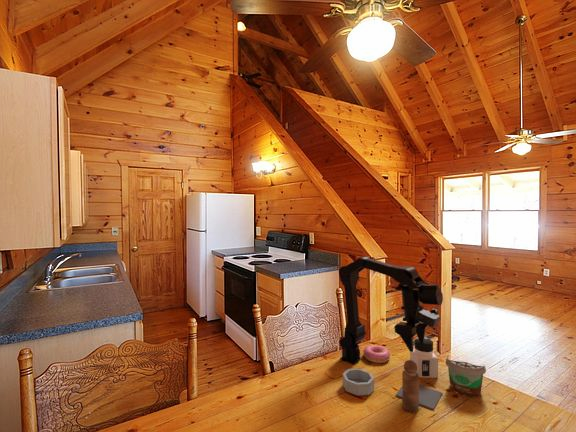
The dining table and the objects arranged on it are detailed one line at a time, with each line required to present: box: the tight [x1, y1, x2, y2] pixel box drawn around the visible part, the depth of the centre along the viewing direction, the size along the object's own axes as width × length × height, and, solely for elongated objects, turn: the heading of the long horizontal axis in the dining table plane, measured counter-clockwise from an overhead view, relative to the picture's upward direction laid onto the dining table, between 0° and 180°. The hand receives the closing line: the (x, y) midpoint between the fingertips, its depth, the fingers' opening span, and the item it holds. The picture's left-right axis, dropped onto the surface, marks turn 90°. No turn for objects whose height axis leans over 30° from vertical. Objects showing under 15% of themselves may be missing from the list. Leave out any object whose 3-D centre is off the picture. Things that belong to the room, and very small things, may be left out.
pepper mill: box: [401, 359, 420, 414], centre depth 98 cm, size 5×5×15 cm
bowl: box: [342, 368, 375, 396], centre depth 110 cm, size 10×10×4 cm
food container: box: [445, 356, 487, 398], centre depth 106 cm, size 12×6×10 cm, turn 62°
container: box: [409, 337, 439, 379], centre depth 120 cm, size 8×8×13 cm
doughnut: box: [362, 344, 391, 364], centre depth 132 cm, size 11×11×4 cm
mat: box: [395, 384, 443, 411], centre depth 106 cm, size 12×11×1 cm
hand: (416, 347), depth 111 cm, fingers open, 9 cm apart
